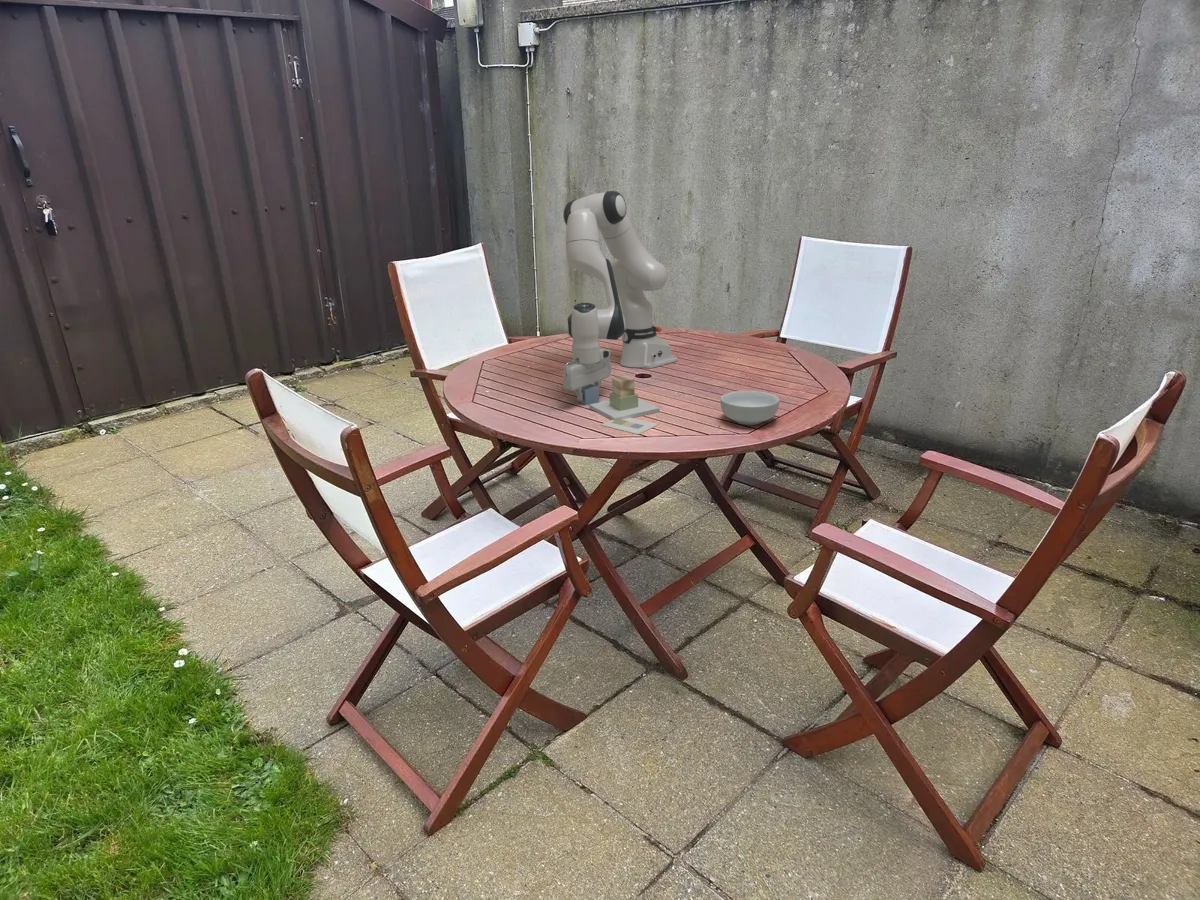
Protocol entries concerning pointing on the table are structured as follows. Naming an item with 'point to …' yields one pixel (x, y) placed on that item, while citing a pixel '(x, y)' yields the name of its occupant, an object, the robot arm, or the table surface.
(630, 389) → the beech block
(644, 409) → the build plate
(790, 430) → the table surface
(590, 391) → the slate blue block
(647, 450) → the table surface
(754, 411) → the cereal bowl
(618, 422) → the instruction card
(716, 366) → the table surface
